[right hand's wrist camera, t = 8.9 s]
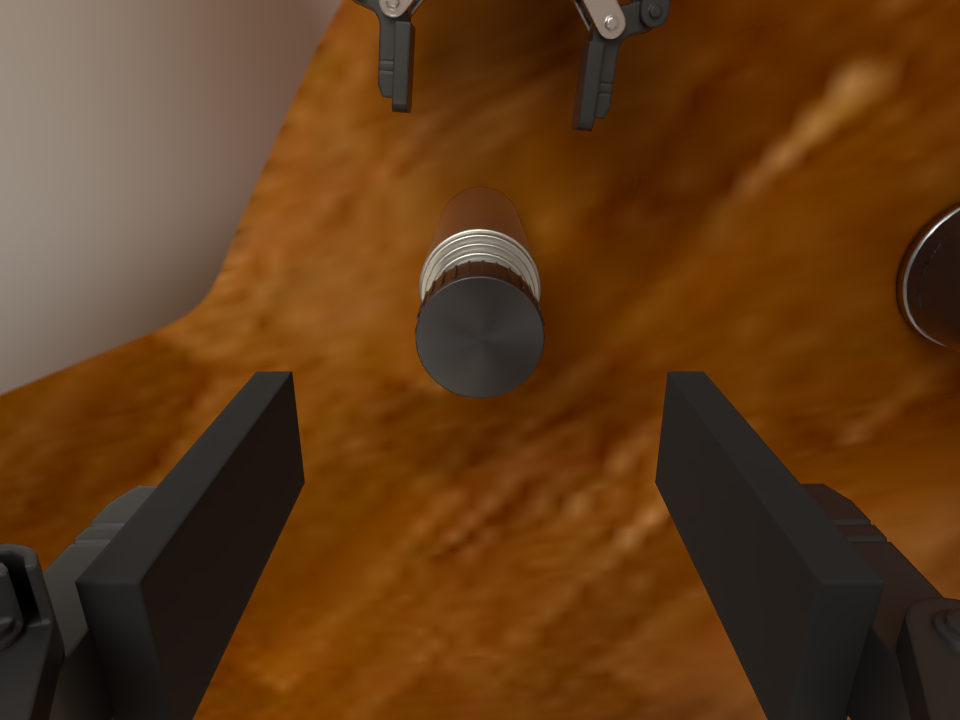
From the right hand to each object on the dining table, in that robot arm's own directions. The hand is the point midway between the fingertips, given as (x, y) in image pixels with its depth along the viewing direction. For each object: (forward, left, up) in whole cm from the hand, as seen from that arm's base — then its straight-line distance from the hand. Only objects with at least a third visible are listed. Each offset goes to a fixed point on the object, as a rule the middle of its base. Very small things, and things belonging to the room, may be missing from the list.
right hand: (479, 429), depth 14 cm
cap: (0, 0, -6) cm, 6 cm away
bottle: (0, 0, -26) cm, 26 cm away
